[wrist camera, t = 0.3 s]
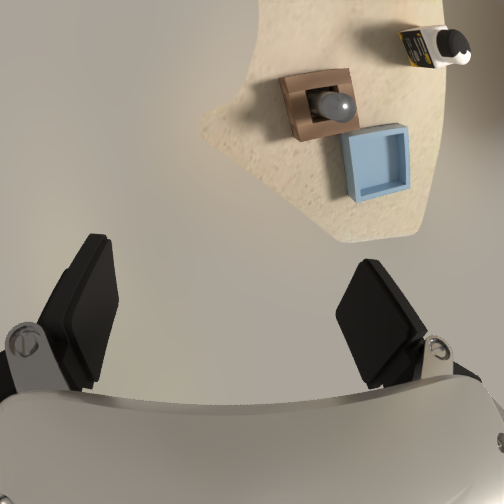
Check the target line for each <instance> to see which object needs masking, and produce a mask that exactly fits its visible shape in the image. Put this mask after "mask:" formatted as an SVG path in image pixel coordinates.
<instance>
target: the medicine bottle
mask: <svg viewBox="0 0 504 504" xmlns="http://www.w3.org/2000/svg"><path fill="white" fill-rule="evenodd" d="M398 35H399V37H400V39H401V41H402V44H403V46H404V48H405V51H406V53H407V55H408V58H409V60H410V63H411V65H412V66H413V67H425V68H435V69H437V68H440V67H443V66H446V65H449V64H452V63H454V64H462V65H463V64H466V63H467V62H468V61H469V59H470V56H471V50H470V46H469V43H468V41H467V39H466V38H465V37H464V35H463V34H462V33H460V32H459V31H457V30H454V29H450V30H448V29H447V27H446V26H445V25H436V26H422V27H417V28H412V29H408V30H404V31H400V32H398Z"/></svg>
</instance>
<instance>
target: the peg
mask: <svg viewBox="0 0 504 504" xmlns="http://www.w3.org/2000/svg"><path fill="white" fill-rule="evenodd" d="M306 97H307V101H308V105H309V110H310V112H312V113H314V114H317V115H320V116H323V117H326V118H328V119H331V120H334V121H336V122H339V123H346V122H349V121H350V120H352V119H353V117H354V116H355V114H356V104H355V102H354V100H353V99H352V97H350V96H349V95H347V94H344V93H337V92H330V91H321V90H312V91H310V92H308V93H307V94H306Z"/></svg>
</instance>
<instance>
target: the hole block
mask: <svg viewBox="0 0 504 504" xmlns="http://www.w3.org/2000/svg"><path fill="white" fill-rule="evenodd" d="M279 82H280V86H281V89H282V93H283V97H284V101H285V104H286V108H287V112H288V116H289V120H290V124H291V129H292V133H293V137H294V138H296V139H297V140H298V141H300V142H303V141H307V140H312V139H316V138H321V137H325V136H330V135H335V134H340V133H345V132H350V131H355V130H360V126H359V119H358V113H357V107H356V114H355V116H354V117H353V119H352V120H350V121H349V122H346V123H339V122H336V121H334V120H331V119H328V118H326V117H323V116H321V117H316V118H311V114H310V110H309V105H308V101H307V97H306V93H305V90H309V89H315V88H321V87H327V86H328V88H329V91H330V92H337V93H344V94H347V95H349V96H350V97H352V99H353V100H354V102H355V104H356V101H355V96H354V91H353V86H352V81H351V76H350V72H349V68H345V69H332V70H324V71H317V72H310V73H304V74H298V75H293V76H287V77H282V78H279Z"/></svg>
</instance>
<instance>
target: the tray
mask: <svg viewBox="0 0 504 504" xmlns="http://www.w3.org/2000/svg"><path fill="white" fill-rule="evenodd" d="M340 138H341V144H342V151H343V158H344V165H345V172H346V180H347V189H348V195H349V196H350V197H351V198H352V199H353V200H354V201H355V202H356V203H358V202H362V201H365V200H369V199H373V198H376V197H380V196H384V195H387V194H391V193H395V192H398V191H402V190H406V189H410V153H409V136H408V127H407V126H404V125H401V124H398V123H393V124H386V125H379V126H373V127H367V128H362V129H360V130H355V131H350V132H345V133H340Z"/></svg>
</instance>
